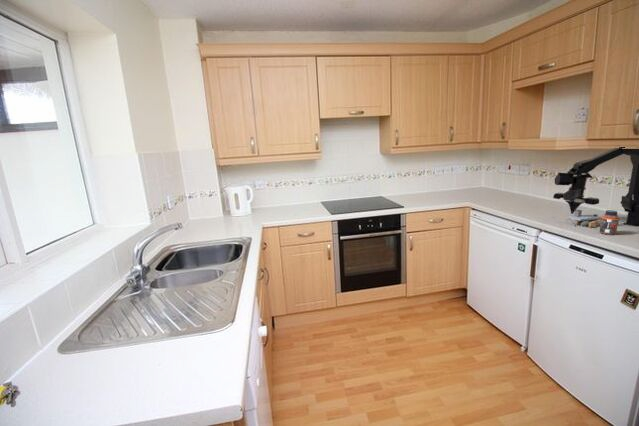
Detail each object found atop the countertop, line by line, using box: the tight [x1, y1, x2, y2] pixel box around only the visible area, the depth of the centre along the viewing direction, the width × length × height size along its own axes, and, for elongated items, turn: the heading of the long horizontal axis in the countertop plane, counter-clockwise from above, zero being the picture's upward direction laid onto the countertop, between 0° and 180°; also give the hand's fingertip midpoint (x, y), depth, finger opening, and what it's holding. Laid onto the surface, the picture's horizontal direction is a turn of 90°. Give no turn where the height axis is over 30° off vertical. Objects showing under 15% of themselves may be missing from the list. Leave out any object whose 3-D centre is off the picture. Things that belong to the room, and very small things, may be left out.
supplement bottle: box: [599, 209, 620, 236], centre depth 144 cm, size 6×6×11 cm
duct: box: [574, 218, 602, 229], centre depth 160 cm, size 13×7×3 cm, turn 117°
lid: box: [568, 209, 602, 221], centre depth 161 cm, size 14×6×4 cm, turn 98°
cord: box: [580, 220, 593, 227], centre depth 159 cm, size 7×3×3 cm, turn 115°
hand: (572, 213), depth 164 cm, fingers closed
